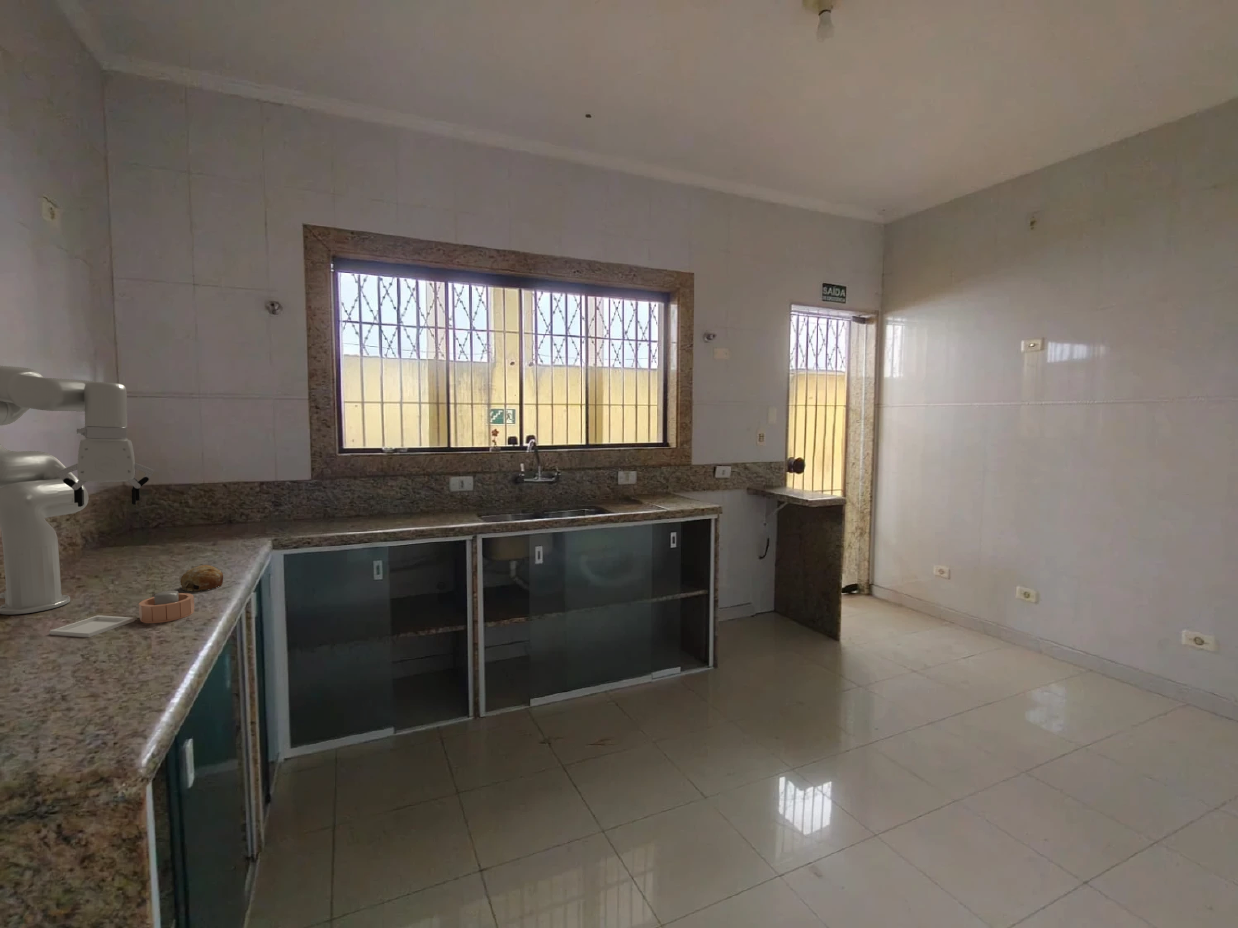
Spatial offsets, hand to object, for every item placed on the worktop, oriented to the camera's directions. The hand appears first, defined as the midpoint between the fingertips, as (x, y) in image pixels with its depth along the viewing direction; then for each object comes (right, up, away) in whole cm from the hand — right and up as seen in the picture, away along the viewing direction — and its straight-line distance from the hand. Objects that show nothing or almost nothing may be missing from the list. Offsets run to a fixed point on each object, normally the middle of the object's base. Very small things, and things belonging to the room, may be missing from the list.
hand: (108, 504), depth 137 cm
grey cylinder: (+15, -26, -1) cm, 30 cm away
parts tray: (+5, -27, -9) cm, 29 cm away
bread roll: (+5, -25, +24) cm, 35 cm away
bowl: (+15, -27, -1) cm, 31 cm away
